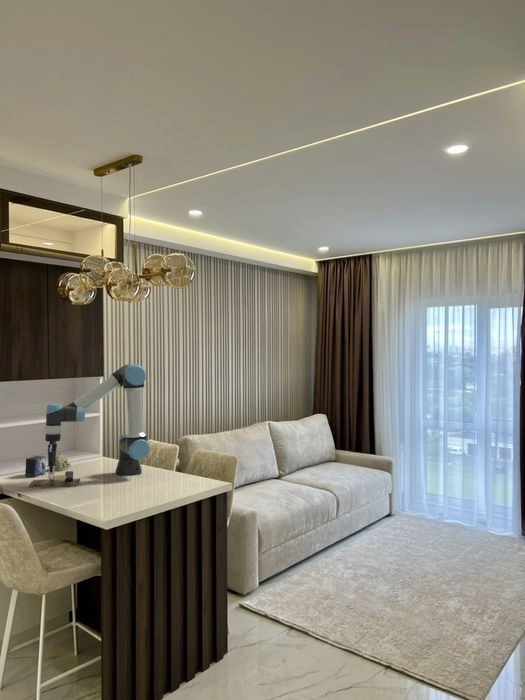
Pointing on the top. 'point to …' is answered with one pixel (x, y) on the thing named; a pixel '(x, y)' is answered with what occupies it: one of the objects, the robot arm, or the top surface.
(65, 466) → the ceramic model
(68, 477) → the lever
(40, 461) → the small box
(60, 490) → the top surface
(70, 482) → the dial board
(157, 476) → the top surface
